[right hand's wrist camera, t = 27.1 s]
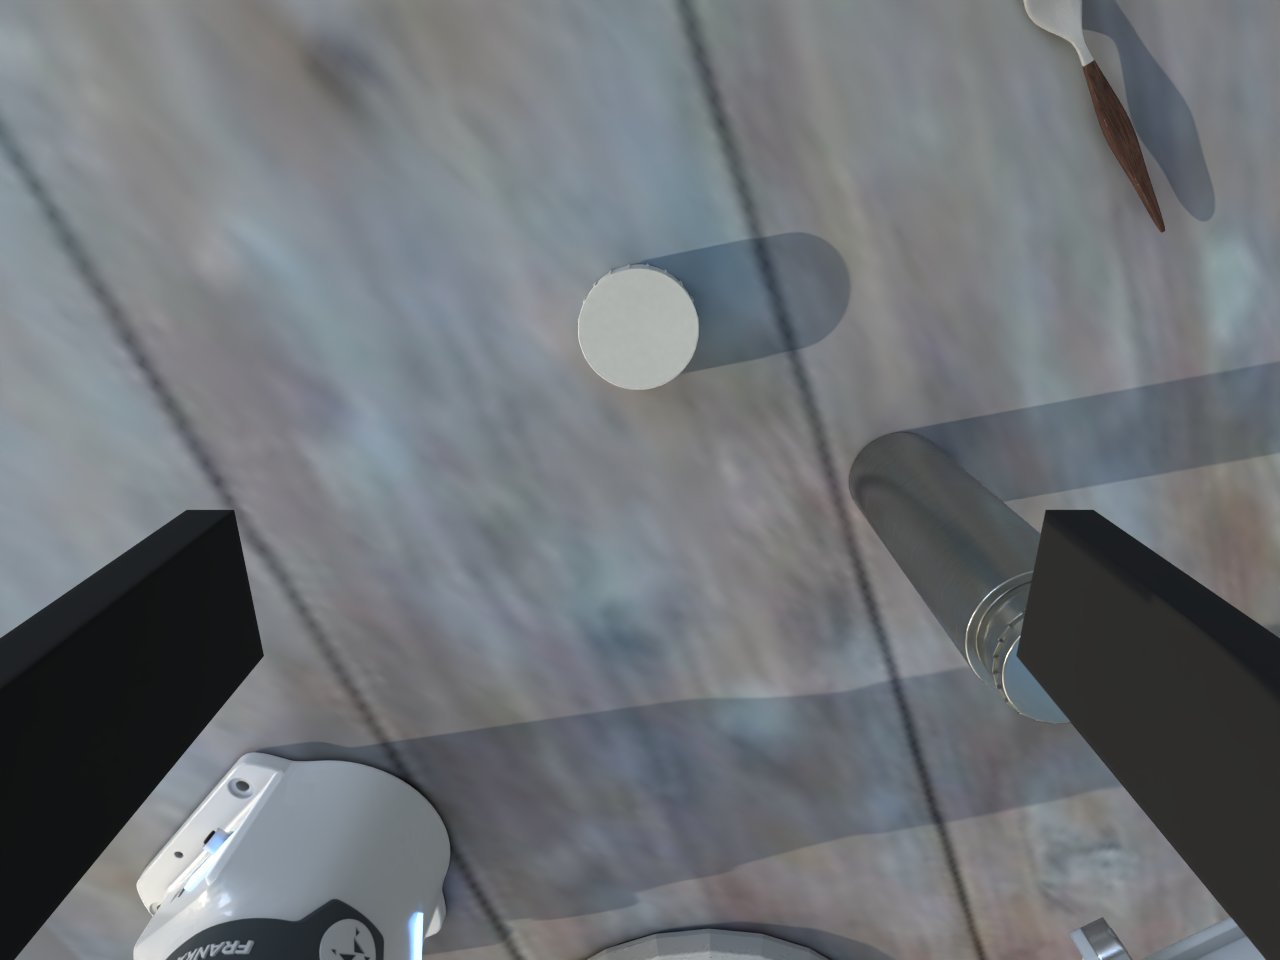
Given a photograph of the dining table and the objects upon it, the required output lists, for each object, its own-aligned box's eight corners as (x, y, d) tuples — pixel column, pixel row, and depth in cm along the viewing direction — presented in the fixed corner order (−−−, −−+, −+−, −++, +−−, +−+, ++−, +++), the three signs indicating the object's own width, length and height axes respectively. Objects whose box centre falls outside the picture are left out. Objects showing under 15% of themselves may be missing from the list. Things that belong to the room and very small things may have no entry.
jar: (837, 451, 42) (975, 627, 25) (932, 418, 42) (1142, 576, 24) (862, 533, 44) (1007, 752, 27) (953, 503, 44) (1163, 707, 26)
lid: (675, 394, 41) (677, 405, 39) (566, 361, 41) (562, 370, 38) (712, 284, 39) (717, 289, 37) (599, 247, 39) (596, 250, 36)
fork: (1131, 247, 38) (1156, 249, 37) (993, -58, 34) (1013, -73, 32) (1181, 215, 38) (1209, 216, 36) (1047, -98, 33) (1071, -116, 31)
